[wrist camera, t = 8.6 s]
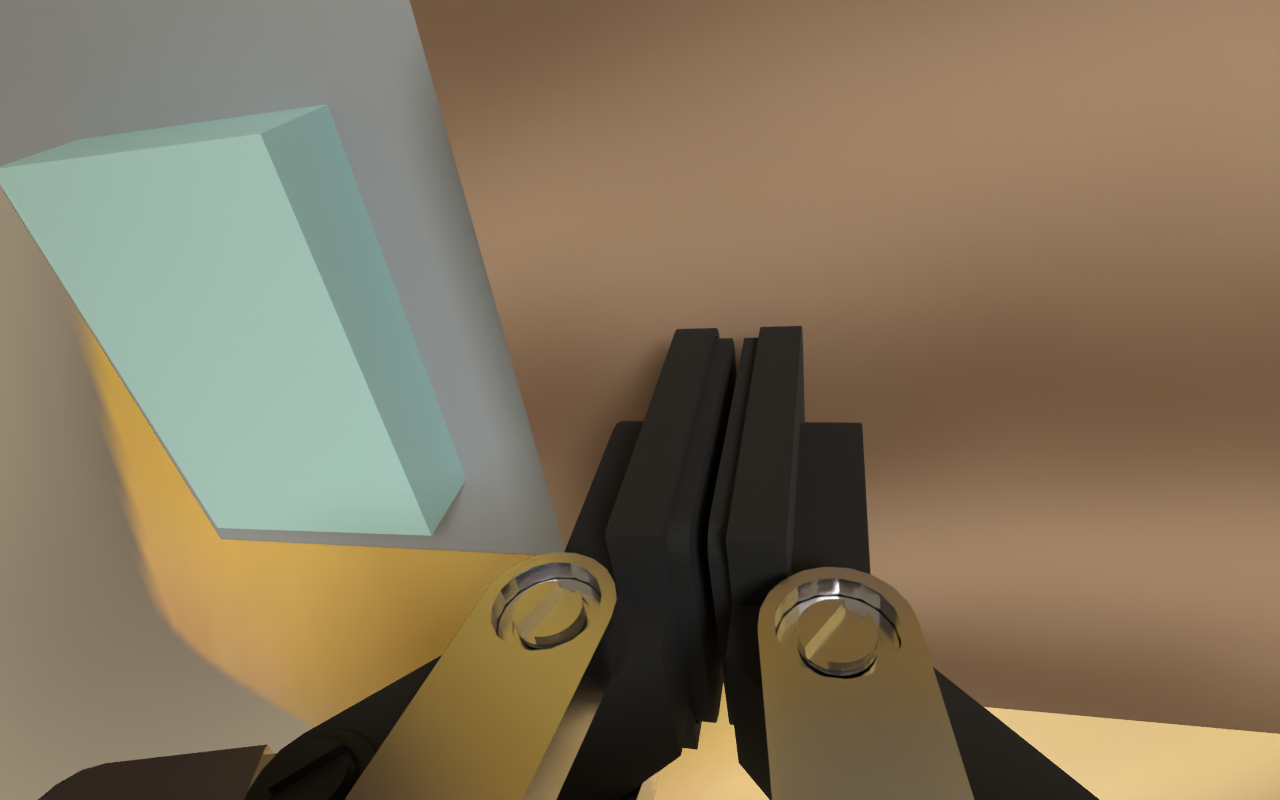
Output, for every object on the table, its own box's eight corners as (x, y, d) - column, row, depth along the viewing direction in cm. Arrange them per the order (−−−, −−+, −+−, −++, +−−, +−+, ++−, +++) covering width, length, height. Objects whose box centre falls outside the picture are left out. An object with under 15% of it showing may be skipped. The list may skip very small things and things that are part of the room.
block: (259, 133, 12) (327, 104, 14) (-10, 169, 14) (79, 139, 15) (431, 535, 17) (466, 479, 19) (217, 527, 18) (266, 476, 20)
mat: (-122, -36, 14) (-138, -34, 14) (432, -160, 11) (424, -161, 11) (227, 531, 22) (221, 539, 22) (605, 549, 19) (602, 557, 19)
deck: (501, -133, 11) (370, -138, 8) (2019, -449, 7) (2987, -721, 4) (639, 537, 19) (600, 671, 16) (1416, 569, 15) (1578, 760, 12)
